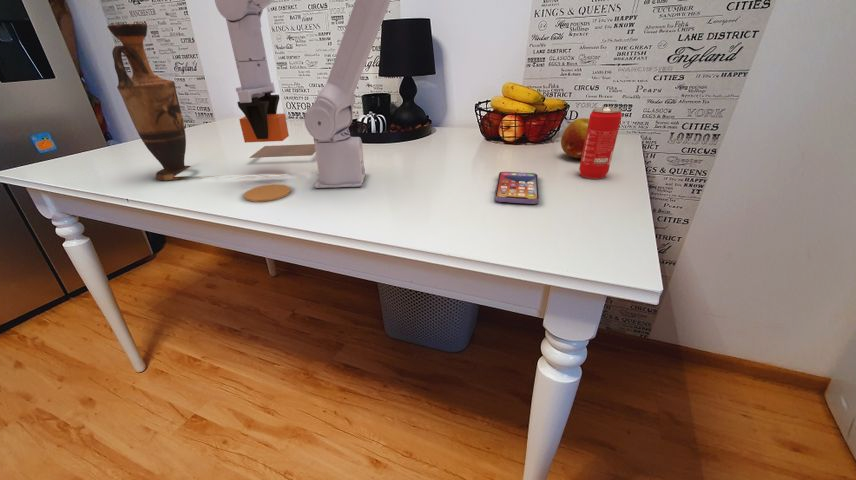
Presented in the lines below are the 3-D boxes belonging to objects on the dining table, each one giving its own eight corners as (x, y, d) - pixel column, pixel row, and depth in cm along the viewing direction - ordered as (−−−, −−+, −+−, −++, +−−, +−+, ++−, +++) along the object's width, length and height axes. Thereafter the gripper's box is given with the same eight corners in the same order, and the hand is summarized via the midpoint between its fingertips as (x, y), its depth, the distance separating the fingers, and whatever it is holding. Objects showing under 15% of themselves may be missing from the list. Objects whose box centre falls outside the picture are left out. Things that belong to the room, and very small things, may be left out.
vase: (188, 166, 100) (144, 25, 85) (209, 173, 94) (165, 22, 78) (143, 177, 94) (86, 26, 78) (163, 185, 87) (104, 23, 72)
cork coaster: (295, 185, 82) (295, 183, 82) (283, 201, 75) (283, 199, 75) (253, 187, 83) (253, 185, 83) (237, 202, 76) (236, 200, 75)
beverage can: (578, 178, 77) (591, 111, 71) (578, 170, 81) (590, 107, 75) (607, 180, 75) (624, 112, 69) (606, 172, 79) (622, 107, 73)
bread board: (322, 149, 108) (322, 143, 108) (313, 161, 98) (312, 155, 97) (265, 151, 110) (264, 146, 109) (250, 163, 99) (248, 157, 99)
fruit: (603, 164, 84) (613, 124, 80) (557, 162, 87) (564, 123, 82) (601, 152, 91) (609, 115, 87) (558, 151, 94) (564, 115, 90)
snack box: (289, 136, 84) (285, 113, 82) (282, 141, 80) (278, 117, 78) (252, 137, 85) (247, 115, 82) (244, 142, 81) (238, 119, 79)
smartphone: (537, 177, 79) (538, 205, 66) (498, 175, 80) (493, 202, 68) (537, 173, 78) (539, 200, 66) (499, 171, 80) (494, 197, 68)
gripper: (245, 59, 81) (260, 129, 89) (213, 64, 69) (234, 144, 76) (278, 57, 81) (291, 128, 88) (253, 62, 69) (269, 143, 76)
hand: (266, 135), depth 82 cm, fingers closed on snack box, 4 cm apart
